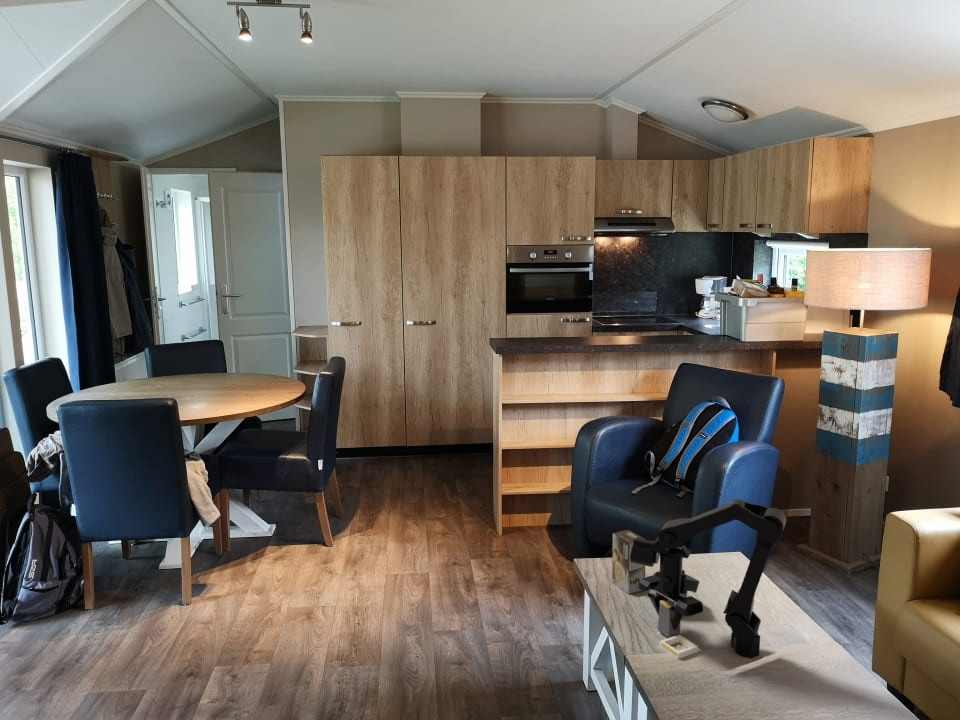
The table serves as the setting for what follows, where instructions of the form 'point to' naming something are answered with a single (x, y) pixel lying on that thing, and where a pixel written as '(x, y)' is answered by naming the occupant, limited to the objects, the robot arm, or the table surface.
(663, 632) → the plug
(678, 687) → the table surface
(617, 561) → the coffee box
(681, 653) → the header board
